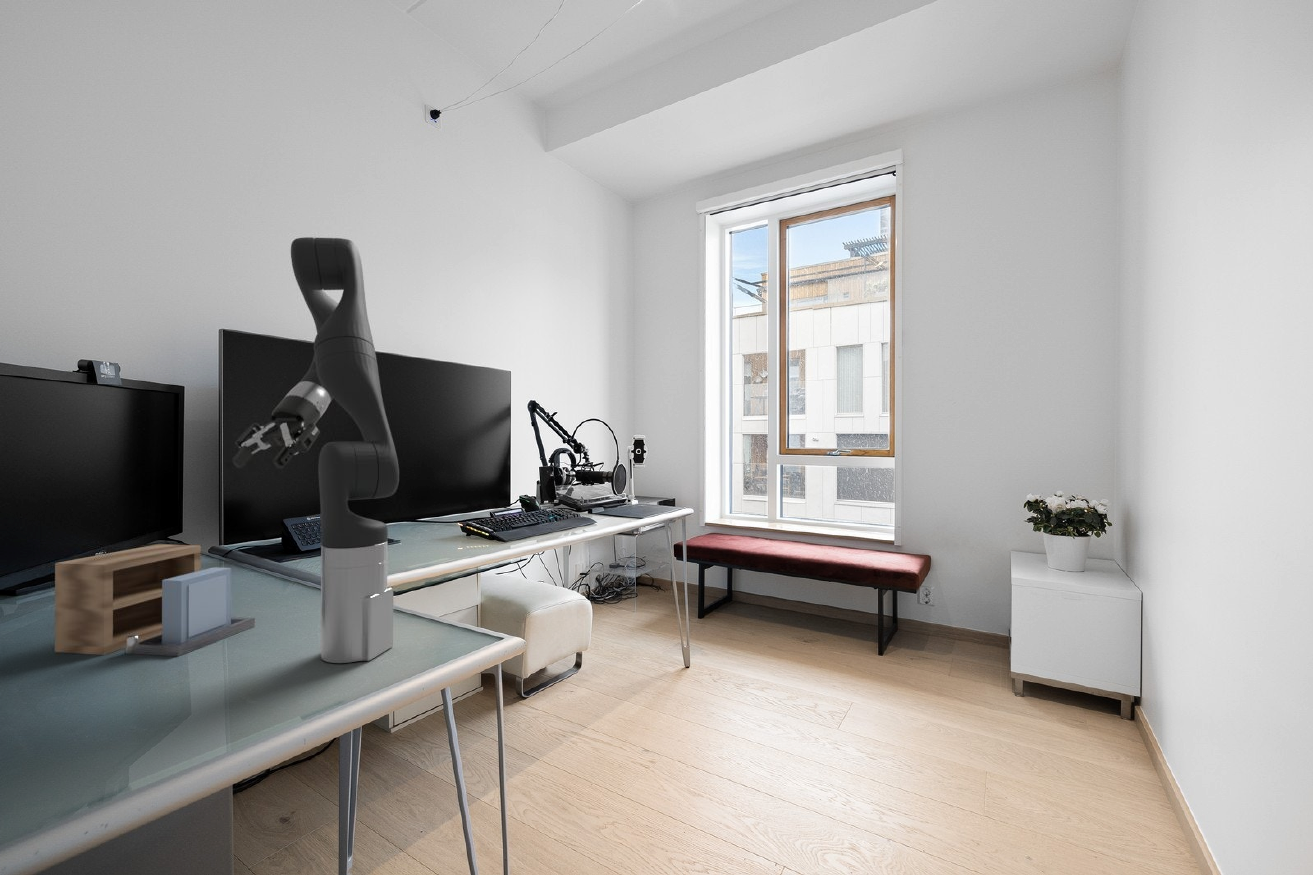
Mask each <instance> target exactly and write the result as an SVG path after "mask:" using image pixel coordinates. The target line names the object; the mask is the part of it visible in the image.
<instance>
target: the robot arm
mask: <svg viewBox="0 0 1313 875" xmlns="http://www.w3.org/2000/svg"><path fill="white" fill-rule="evenodd" d="M290 259H291V265H292V271H293V274H294V277H295V281H296V283H297V285H298V287H299V291H300V293H301V294H302V297H303V299H304V301H305V304H306V306H307V308H308V310H309V312H310V314H311V317H312V319H313V321H314V324H315V329H316V333H317V334H316V336H315V339H314V342H313V351H314V352H313V353H314V355H313V358H312V362H311V364H310V366H309V368H308V370H307V372H306V374H305V375H304V376H303V377H302V378H301V380H300V381H299V382H298V383H297V384H296V385H295V386H294V387H293V388H291V389H290V390H289V391H288V392H287V394H286V395H285V396H284V398H283V399H282V400H281V401H280V402H279V403H278V405H277V406H275V408H274V409H273V410H272V412H271V419H270V421H269V422H268V423H266V424H265V425H259V423H258V422H254V423H251V425H250V426H249V427H248V428H247V429H245V431H244V432H243V433H242V434H241V436H239V437H238V438H237V439H236V440H235V441H234V444H235V445H236V446H237V447H238V449H239V450H238V451H237V452H236V453H235V455H234V456H233V457H232V459H231V462H232V464H233V465H234V466H235V467H236V468H237V469H238V468H239V469H241V468H242V469H243V468H244V466H246V464H247V463H248V462H249V460H250V459H251V458H252V457H253V455H254V454H256V453H257V452H259V451H260V450H264V451H265V450H267V449H268V448H271V447H276V446H281V447H282V448H281V450H280V451H278V453H277V454H276V456H275V457H274V458H273V459H272V463H273V465H274V466H275V467H276V469H284V467H285V466H286V465H287V464H288V463H289V462H290V460H292V458H293V456H296V455H298V454H299V453H301V452H302V453H303V454H305V453H307V452H308V451H310V449H311V447H312V446H313V445H314V444H315V441H316V439H317V438H318V437H319V435H320V434H321V431H320V430H319V429H318V427H317V425H316V424H317V423H318V421H319V420H320V418H322V416H323V415H324V413H325V412H326V411H327V409H328V407H329V405H330V403H331V402H332V401H333V400H334V401H335V402H337V404H338V405H339V406H340V407H342V409H344V410H345V411H346V412H347V414H349V416H350V417H351V419H352V420H353V421H354V422H355V423H356V425H357V427H358V429H359V431H360V433H361V436H362V438H363V440H361V441H354V440H353V441H347V440H346V441H330V442H327V443H325V444H324V445H323V447H321V450H320V451H319V452H320V453H319V457H318V469H317V470H318V486H319V487H318V488H319V502H320V503H319V505H320V533H321V534H320V535H321V536H320V538H321V540H320V545H321V547H320V551H321V552H320V554H321V555H320V559H321V560H320V563H321V564H320V658H321V660H322V661H324V662H326V663H331V664H346V663H353V662H359V661H371V660H373V659H374V658H376V657H378V656H379V655H381V654H383V653H384V652H386V651H387V650H390V649H391V648H392V647H394V588H392V587H388V545H389V544H388V537H389V536H388V532H389V531H388V526H387V524H386V523H384V522H383V521H379V520H376V519H372V518H367V517H363V516H361V515H358V514H356V513H354V512H353V511H351V510H350V508H349V504H348V501H358V500H372V499H373V500H374V499H382V498H383V499H384V498H388V497H392V496H393V495H394V494H395V493H396V492H397V490H398V487H399V482H400V467H399V460H398V456H397V452H396V451H397V450H396V447H395V443H394V439H393V436H392V432H391V428H390V424H389V421H388V417H387V415H386V408H385V404H384V401H383V396H382V389H381V382H380V375H379V367H378V366H379V365H378V361H377V355H376V350H375V345H374V340H373V336H372V331H371V328H370V322H369V317H368V311H367V310H368V309H367V303H366V293H365V285H364V274H363V273H364V272H363V265H362V259H361V255H360V252H359V249H358V246H356V244H355V243H354V242H353V241H352V240H351V239H347V238H341V237H312V236H311V237H298V238H295V239H294V240H293V241H292V242H291V245H290ZM342 290H343V291H342ZM325 291H342V294H341V298H340V300H339V302H337V301H336V300H335V299H333V298H332V296H331V297H330V295H329V294H327V293H326V292H325ZM261 438H263V439H264V440H265V442H263V441H262V440H261ZM256 443H257V445H255V444H256ZM254 445H255V446H254ZM252 446H253V447H252Z"/></svg>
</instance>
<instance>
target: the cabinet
mask: <svg viewBox="0 0 1313 875" xmlns="http://www.w3.org/2000/svg"><path fill="white" fill-rule="evenodd" d="M201 548H202V547H201V545H197V544H196V545H195V544H194V545H193V544H166V543H165V544H162V543H158V544H157V543H156V544H152V545H146V546H141V547H136V548H131V549H124V550H120V551H115V552H114V551H113V552H108V553H103V554H98V555H93V556H88V557H82V558H75V559H71V560H66V561H60V562H55V563H54V584H55V585H54V595H55V596H54V611H55V612H54V653H64V654H65V653H66V654H67V653H69V654H83V655H99V656H100V655H101V656H103V655H104V656H105V655H108V654H111V653H114V652H117V651H119V650H122V649H126V637H128V636H131V635H138V642H141V641H144V640H147V639H150V638H153V637H156V636H159V635H162V580H165V579H169V578H173V577H177V576H181V575H185V574H189V573H193V572H197V571H201V570H202V569H201V568H202V567H201V566H202V562H201V560H202V558H201V555H202V554H201V552H202V551H201V550H202V549H201Z"/></svg>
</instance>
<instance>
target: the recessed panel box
mask: <svg viewBox="0 0 1313 875" xmlns="http://www.w3.org/2000/svg"><path fill="white" fill-rule="evenodd" d="M231 617H232V567H215V566H214V567H210V568H206V569H201V571H197V572H193V573H189V574H185V575H181V576H177V577H173V578H169V579H165V580H162V643H170V644H181V643H183V642H186V641H189V640H191V639H194V638H197V637H199V636H202V635H205V634H207V633H210V632H213V631H215V630H218V629H221V628H223V627H226V626H229V625H231Z"/></svg>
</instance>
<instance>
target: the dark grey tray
mask: <svg viewBox="0 0 1313 875" xmlns="http://www.w3.org/2000/svg"><path fill="white" fill-rule="evenodd" d="M255 625H256V624H255V617H241V616H231V625H229V626H226V627H223V628H221V629H218V630H215V631H213V632H210V633H207V634H205V635H202V636H199V637H197V638H194V639H191V640H189V641H186V642H183V643H181V644H170V643H162V635H159V636H156V637H153V638H150V639H147V640H144V641H141V642H138V635H131V636H128V637H126V648H125V651H126V655H131V654H133V655H147V656H148V655H149V656H167V657H169V656H170V657H180V656H183V655H186V654H188V653H190V652H193V651H195V650H198V649H200V648H203V647H205V646H209V645H211V644H213V643H216V642H219V641H222V640H224V639H226V638H228V637H231V636H234V635H236V634H239V633H242V632H244V631H246V630H250V629H251V628H253V627H255Z"/></svg>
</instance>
